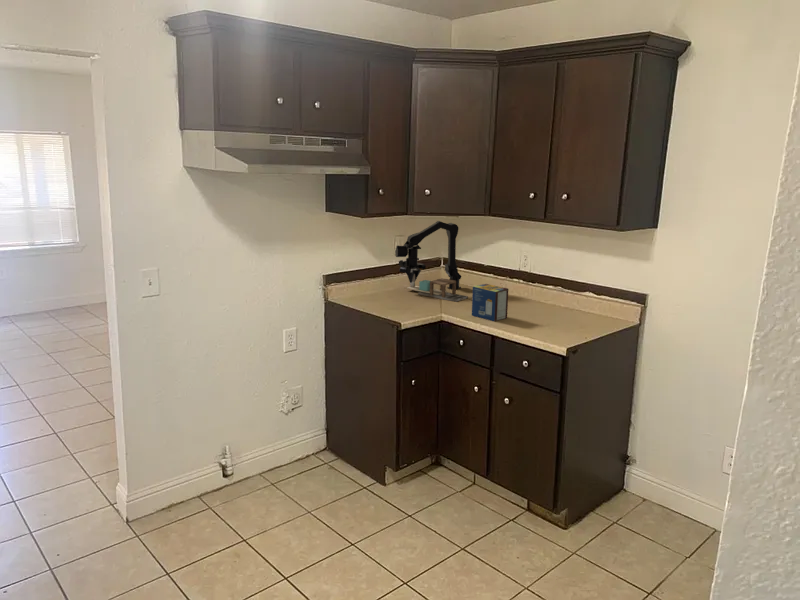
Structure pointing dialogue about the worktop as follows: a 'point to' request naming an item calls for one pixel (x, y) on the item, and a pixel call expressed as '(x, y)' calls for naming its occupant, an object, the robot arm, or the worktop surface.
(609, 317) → the worktop surface
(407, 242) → the robot arm
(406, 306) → the worktop surface
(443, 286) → the tunnel
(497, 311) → the protein box
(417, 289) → the sled
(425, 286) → the teal block
